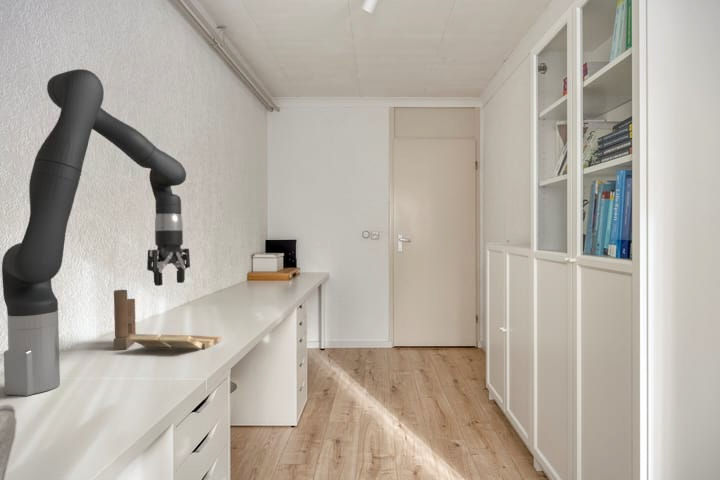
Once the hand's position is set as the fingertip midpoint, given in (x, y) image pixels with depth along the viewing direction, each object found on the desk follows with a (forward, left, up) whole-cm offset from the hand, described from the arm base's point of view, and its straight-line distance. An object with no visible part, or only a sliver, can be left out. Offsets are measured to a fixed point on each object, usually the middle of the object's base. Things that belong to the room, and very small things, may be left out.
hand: (169, 284), depth 131 cm
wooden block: (+4, +19, -20) cm, 28 cm away
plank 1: (-2, +6, -17) cm, 18 cm away
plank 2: (-2, -4, -17) cm, 18 cm away
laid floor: (+8, +1, -20) cm, 21 cm away
